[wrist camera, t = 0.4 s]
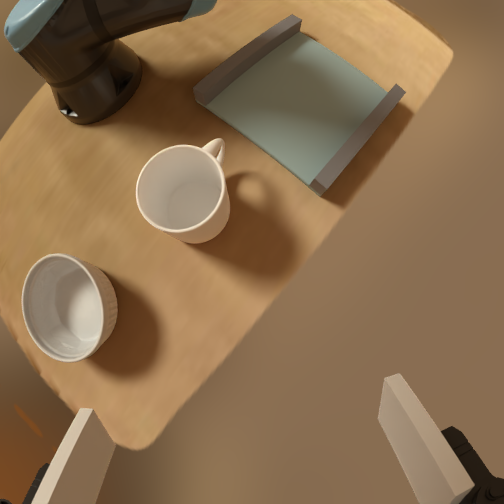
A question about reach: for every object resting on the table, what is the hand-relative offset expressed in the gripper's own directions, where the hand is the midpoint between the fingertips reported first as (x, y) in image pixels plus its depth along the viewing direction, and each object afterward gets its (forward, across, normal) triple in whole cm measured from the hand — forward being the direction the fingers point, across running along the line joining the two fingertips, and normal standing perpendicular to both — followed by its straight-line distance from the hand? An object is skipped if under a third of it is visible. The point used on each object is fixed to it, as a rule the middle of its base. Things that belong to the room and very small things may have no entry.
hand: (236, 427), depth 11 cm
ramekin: (+25, -22, -3) cm, 34 cm away
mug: (+29, -3, +7) cm, 30 cm away
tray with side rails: (+34, +13, +20) cm, 42 cm away
